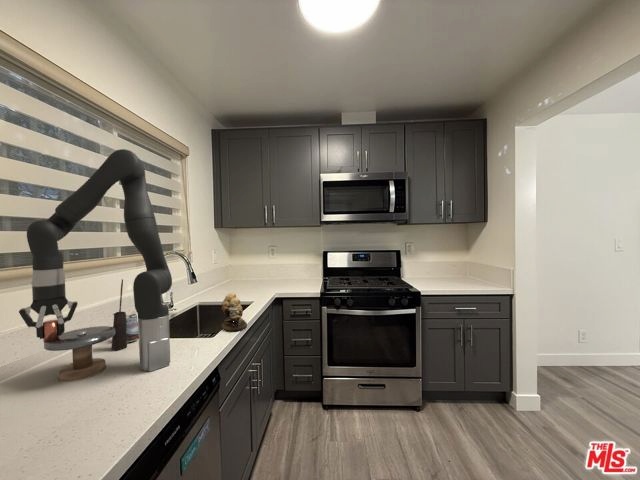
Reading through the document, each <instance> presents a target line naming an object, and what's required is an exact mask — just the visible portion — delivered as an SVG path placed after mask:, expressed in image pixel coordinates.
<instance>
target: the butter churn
mask: <svg viewBox="0 0 640 480" xmlns="http://www.w3.org/2000/svg"><path fill="white" fill-rule="evenodd" d="M123 287H124V279H121V283H120V298H119V310H118V311H117V312H115V313H112V315H113V325H112V327H114V328H115V335H114V336H113V337H111V345H110V347H111V348H110V350H111V351H115V352H116V351H121V350H125V349H126V348H128V342H127V333H126V332H127V329H126V327H127V324H126V314H127V313H126V311H122V301H123V300H122V298H123Z"/></svg>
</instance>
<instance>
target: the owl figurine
mask: <svg viewBox="0 0 640 480" xmlns="http://www.w3.org/2000/svg"><path fill="white" fill-rule="evenodd" d="M221 311H222V313H223V314H224V316H226V317H225V319H224V321H223V323H221V329H222V330H223V329H224V330H227V331H226V332H228V331H231V332H232V331H234V332H236V331H243V330H245V329H246V328H247V326H248V324H247V321H245V319H244V318H243V312H244V311H243V307H242V305H241V300H240V298H238V296H237V295H236V293H235V292H229V293H228V294H227V295H226V296H225V298H224V300H222V302H221ZM233 321H236V322H233ZM224 330H223V331H224Z"/></svg>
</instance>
